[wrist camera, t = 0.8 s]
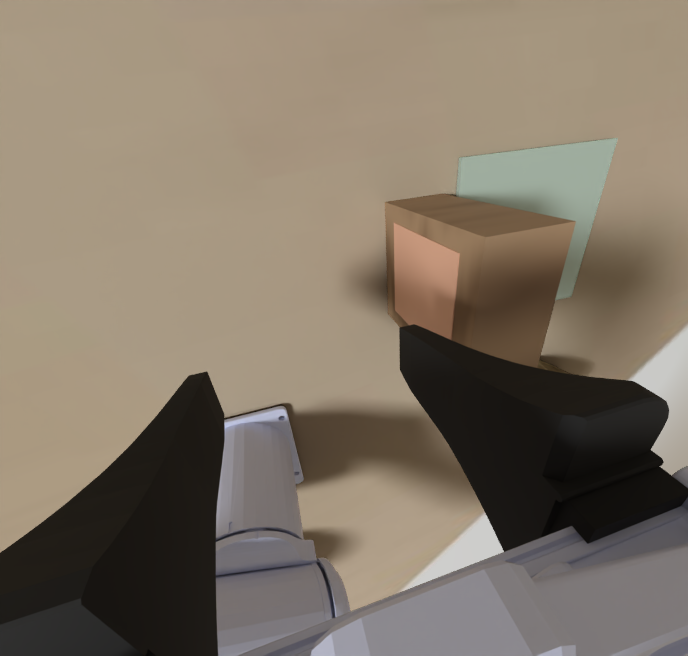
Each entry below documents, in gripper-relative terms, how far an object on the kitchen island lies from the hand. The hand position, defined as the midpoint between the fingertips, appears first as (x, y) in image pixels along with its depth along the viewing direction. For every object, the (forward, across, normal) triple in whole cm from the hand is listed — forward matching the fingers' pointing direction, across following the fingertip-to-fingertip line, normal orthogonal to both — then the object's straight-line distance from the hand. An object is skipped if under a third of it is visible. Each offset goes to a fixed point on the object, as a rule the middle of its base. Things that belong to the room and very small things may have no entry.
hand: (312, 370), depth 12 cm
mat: (+10, -18, 0) cm, 21 cm away
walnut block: (+10, -9, 0) cm, 14 cm away
